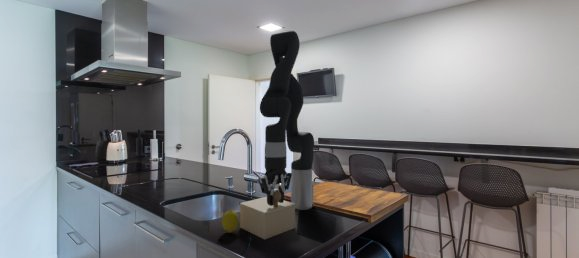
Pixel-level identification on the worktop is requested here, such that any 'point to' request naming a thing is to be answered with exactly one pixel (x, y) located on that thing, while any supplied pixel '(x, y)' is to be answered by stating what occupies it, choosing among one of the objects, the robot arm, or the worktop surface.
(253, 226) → the carton
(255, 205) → the lid
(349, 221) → the worktop surface
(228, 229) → the lemon
